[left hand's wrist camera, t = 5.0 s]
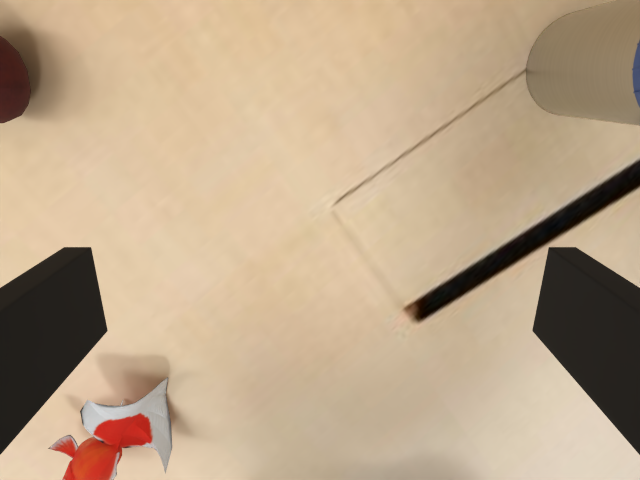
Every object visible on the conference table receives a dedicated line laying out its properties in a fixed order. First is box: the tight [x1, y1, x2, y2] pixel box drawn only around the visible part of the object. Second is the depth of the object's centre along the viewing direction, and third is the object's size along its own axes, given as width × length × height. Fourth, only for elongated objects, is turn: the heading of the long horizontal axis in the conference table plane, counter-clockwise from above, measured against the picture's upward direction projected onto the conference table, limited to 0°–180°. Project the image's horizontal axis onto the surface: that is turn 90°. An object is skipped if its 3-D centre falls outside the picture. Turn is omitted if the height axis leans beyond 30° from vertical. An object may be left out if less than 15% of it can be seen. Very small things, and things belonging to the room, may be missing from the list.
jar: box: [526, 0, 640, 125], centre depth 29 cm, size 8×8×15 cm
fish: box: [48, 378, 172, 480], centre depth 45 cm, size 11×16×10 cm
